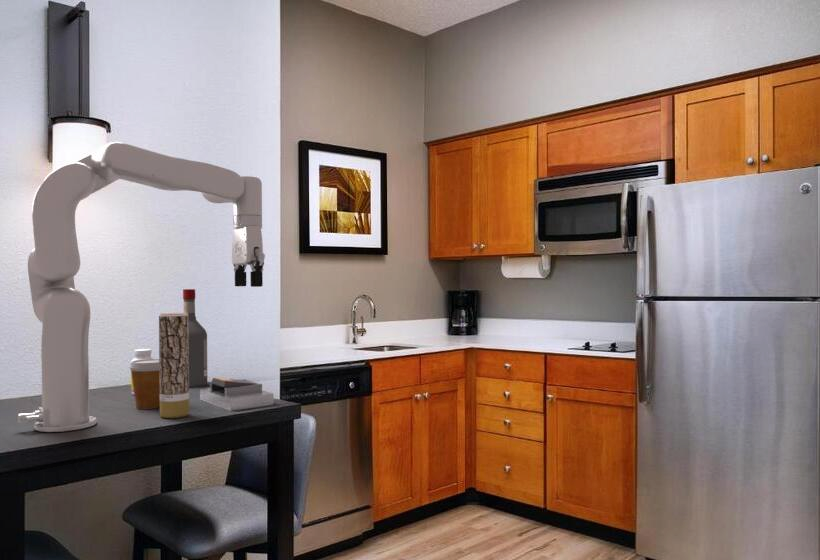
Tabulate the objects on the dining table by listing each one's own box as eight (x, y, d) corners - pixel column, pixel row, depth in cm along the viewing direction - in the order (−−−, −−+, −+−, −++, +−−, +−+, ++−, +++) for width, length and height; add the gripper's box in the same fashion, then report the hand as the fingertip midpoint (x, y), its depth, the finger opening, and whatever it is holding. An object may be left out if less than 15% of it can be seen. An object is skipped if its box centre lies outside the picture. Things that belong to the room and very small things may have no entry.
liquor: (181, 388, 202) (180, 289, 202) (170, 385, 209) (169, 289, 209) (210, 385, 208) (209, 289, 208) (198, 381, 215) (197, 288, 215)
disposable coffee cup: (154, 402, 181) (154, 357, 181) (176, 405, 176) (175, 360, 176) (121, 407, 173) (121, 361, 173) (143, 412, 168) (142, 364, 168)
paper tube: (179, 419, 159) (178, 314, 158) (154, 418, 160) (153, 314, 160) (194, 413, 165) (193, 312, 165) (169, 412, 167) (168, 312, 167)
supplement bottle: (147, 391, 199) (146, 348, 199) (160, 393, 195) (160, 349, 195) (126, 394, 193) (125, 350, 193) (139, 396, 189) (139, 351, 189)
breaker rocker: (224, 387, 174) (224, 380, 174) (211, 383, 180) (212, 377, 180) (258, 389, 180) (259, 383, 180) (245, 385, 186) (246, 379, 186)
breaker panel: (230, 410, 169) (230, 391, 168) (200, 399, 184) (199, 381, 184) (273, 404, 176) (273, 385, 176) (240, 394, 192) (240, 377, 192)
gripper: (221, 224, 184) (222, 286, 185) (249, 220, 171) (249, 287, 171) (246, 225, 189) (247, 286, 189) (275, 221, 176) (276, 286, 176)
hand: (248, 286), depth 180 cm, fingers open, 9 cm apart
